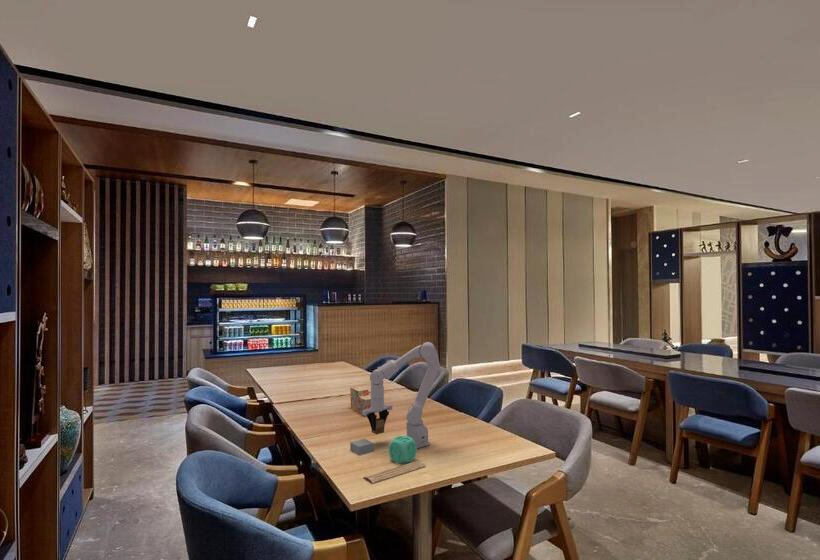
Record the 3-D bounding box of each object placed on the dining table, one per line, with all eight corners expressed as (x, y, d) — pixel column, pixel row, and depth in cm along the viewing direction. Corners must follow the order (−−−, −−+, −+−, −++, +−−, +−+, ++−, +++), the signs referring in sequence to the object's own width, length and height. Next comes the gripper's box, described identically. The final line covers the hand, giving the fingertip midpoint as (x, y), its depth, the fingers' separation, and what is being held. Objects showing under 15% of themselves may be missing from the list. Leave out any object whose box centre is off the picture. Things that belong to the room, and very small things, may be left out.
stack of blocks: (375, 415, 229) (375, 392, 230) (364, 417, 226) (364, 394, 227) (360, 406, 248) (360, 385, 248) (350, 408, 245) (350, 386, 245)
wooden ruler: (372, 486, 145) (372, 481, 145) (361, 479, 151) (361, 474, 151) (426, 469, 159) (426, 464, 159) (414, 463, 165) (414, 458, 165)
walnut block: (384, 432, 185) (384, 419, 186) (376, 434, 183) (376, 421, 183) (379, 430, 189) (378, 417, 189) (371, 432, 186) (371, 419, 186)
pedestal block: (373, 451, 176) (373, 443, 177) (359, 455, 172) (359, 446, 172) (364, 446, 182) (364, 438, 182) (350, 450, 178) (350, 442, 178)
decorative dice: (401, 454, 172) (401, 434, 172) (417, 459, 167) (417, 438, 167) (388, 460, 166) (388, 439, 166) (404, 465, 161) (403, 444, 161)
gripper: (385, 393, 194) (386, 423, 193) (358, 398, 185) (358, 430, 184) (394, 396, 188) (395, 427, 188) (367, 401, 179) (367, 434, 179)
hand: (377, 428), depth 186 cm, fingers closed on walnut block, 4 cm apart
